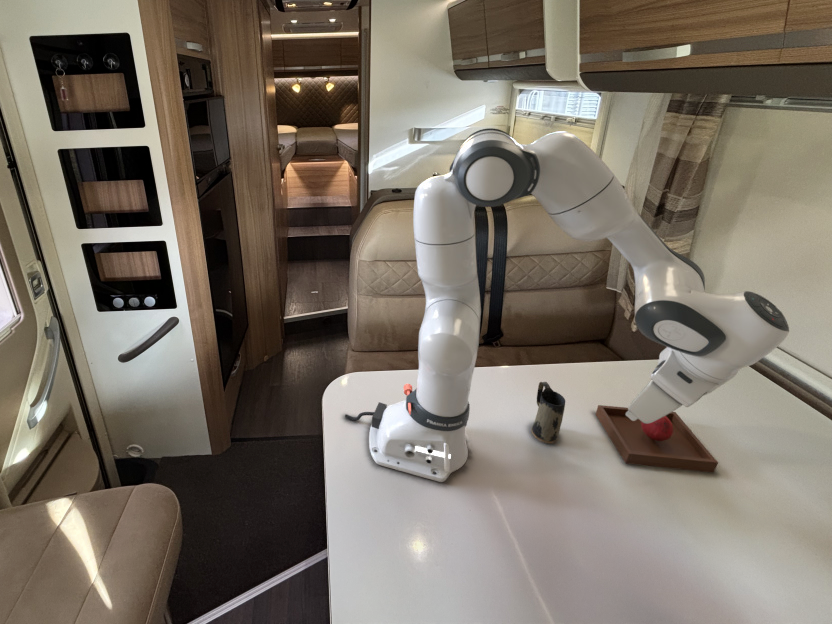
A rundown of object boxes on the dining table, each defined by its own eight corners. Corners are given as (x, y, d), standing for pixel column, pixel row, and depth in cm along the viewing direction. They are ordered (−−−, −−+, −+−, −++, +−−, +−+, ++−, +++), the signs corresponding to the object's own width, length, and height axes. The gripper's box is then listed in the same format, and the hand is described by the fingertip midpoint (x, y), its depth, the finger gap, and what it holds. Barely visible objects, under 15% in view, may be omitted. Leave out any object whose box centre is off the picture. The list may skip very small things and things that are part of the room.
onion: (673, 450, 96) (684, 423, 93) (644, 446, 97) (654, 420, 94) (659, 430, 101) (669, 404, 98) (632, 427, 102) (641, 401, 99)
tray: (625, 463, 94) (629, 453, 93) (595, 414, 107) (598, 404, 106) (713, 472, 92) (718, 462, 91) (671, 421, 105) (675, 411, 104)
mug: (562, 443, 99) (573, 403, 95) (539, 444, 99) (549, 404, 94) (544, 417, 106) (553, 379, 102) (522, 418, 106) (531, 380, 102)
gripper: (694, 329, 81) (647, 368, 90) (650, 377, 71) (601, 415, 80) (731, 355, 78) (677, 392, 87) (690, 408, 67) (634, 445, 76)
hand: (641, 404), depth 83 cm, fingers open, 8 cm apart
